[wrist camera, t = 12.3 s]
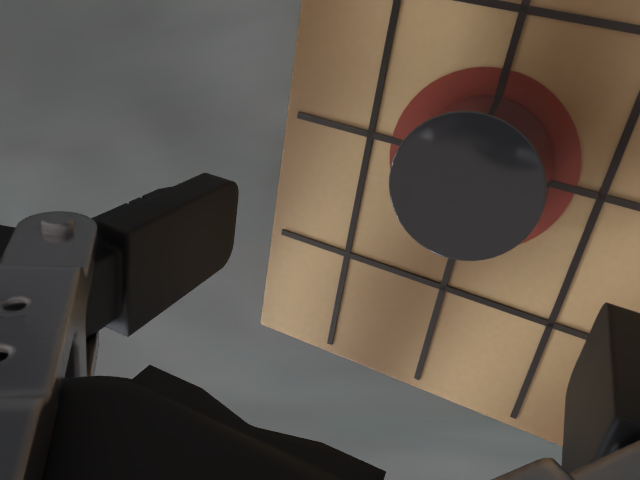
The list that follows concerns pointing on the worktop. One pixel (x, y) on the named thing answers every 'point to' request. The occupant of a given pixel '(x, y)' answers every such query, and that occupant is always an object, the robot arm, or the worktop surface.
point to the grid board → (415, 260)
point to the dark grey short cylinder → (472, 178)
